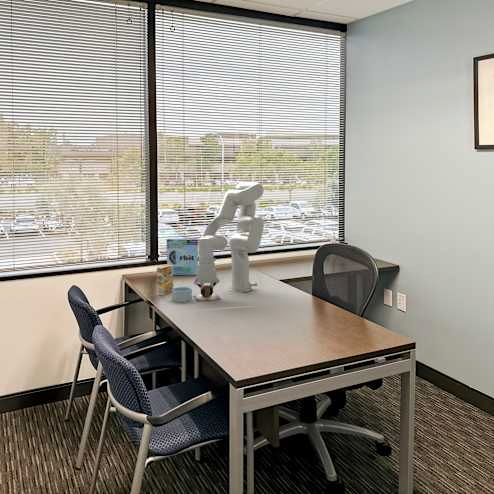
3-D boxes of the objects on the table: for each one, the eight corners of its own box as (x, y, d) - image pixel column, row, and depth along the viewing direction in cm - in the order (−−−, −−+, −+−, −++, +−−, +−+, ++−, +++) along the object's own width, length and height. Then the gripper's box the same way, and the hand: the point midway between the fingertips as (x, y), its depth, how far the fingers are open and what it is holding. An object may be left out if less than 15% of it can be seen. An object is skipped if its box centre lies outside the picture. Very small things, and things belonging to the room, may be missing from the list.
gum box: (167, 275, 338) (166, 239, 335) (169, 273, 343) (167, 238, 340) (197, 275, 337) (196, 239, 333) (198, 273, 342) (198, 238, 338)
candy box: (163, 296, 285) (162, 268, 283) (157, 295, 288) (156, 267, 285) (173, 292, 293) (172, 265, 291) (167, 291, 295) (166, 264, 293)
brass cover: (215, 294, 286) (215, 282, 285) (220, 299, 275) (220, 287, 274) (193, 295, 283) (193, 284, 282) (198, 301, 271) (197, 289, 270)
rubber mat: (216, 295, 287) (216, 293, 287) (222, 300, 274) (222, 299, 274) (192, 296, 283) (192, 295, 283) (197, 303, 271) (197, 301, 271)
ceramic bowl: (189, 297, 282) (189, 286, 281) (193, 302, 273) (193, 290, 272) (170, 298, 279) (170, 287, 278) (174, 303, 270) (173, 292, 269)
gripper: (220, 258, 281) (220, 292, 284) (189, 260, 277) (189, 295, 280) (223, 261, 274) (224, 295, 277) (191, 263, 270) (192, 298, 272)
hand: (206, 295), depth 278 cm, fingers closed on brass cover, 3 cm apart
